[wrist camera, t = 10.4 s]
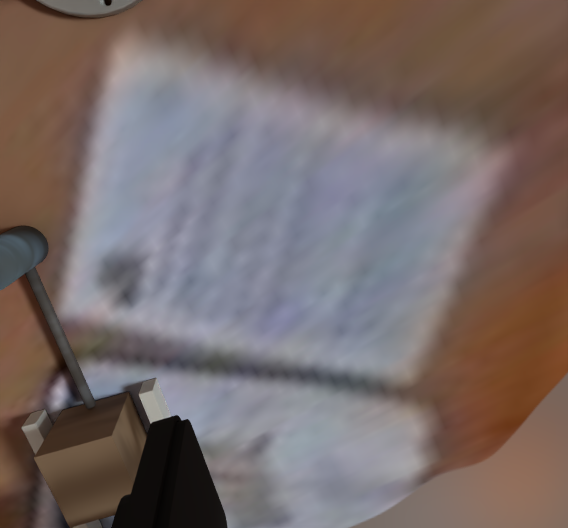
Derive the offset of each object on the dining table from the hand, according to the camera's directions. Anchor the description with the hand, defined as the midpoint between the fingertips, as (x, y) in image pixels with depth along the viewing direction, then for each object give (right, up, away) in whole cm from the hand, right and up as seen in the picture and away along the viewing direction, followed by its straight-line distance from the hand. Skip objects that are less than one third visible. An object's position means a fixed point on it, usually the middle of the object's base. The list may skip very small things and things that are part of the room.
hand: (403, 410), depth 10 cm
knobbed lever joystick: (-20, -5, +29) cm, 35 cm away
